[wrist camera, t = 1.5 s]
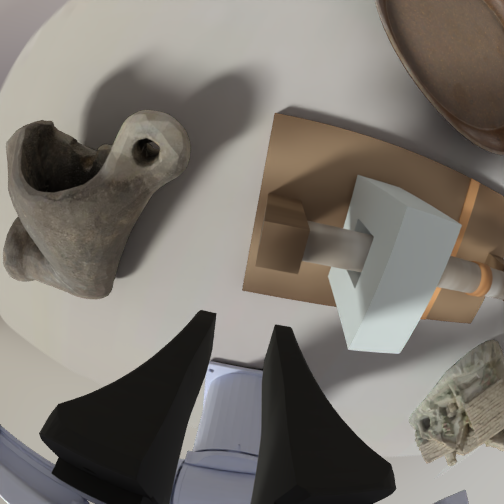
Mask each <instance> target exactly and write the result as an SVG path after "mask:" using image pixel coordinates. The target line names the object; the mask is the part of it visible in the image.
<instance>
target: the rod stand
mask: <svg viewBox="0 0 504 504" xmlns="http://www.w3.org/2000/svg"><path fill="white" fill-rule="evenodd" d="M357 175H360V176H364V177H367V178H371V179H374V180H377V181H381V182H384V183H387V184H390V185H393V186H397V187H400V188H402V189H403V190H405V191H407V192H409V193H411V194H412V195H414V196H416V197H418V198H419V199H421V200H423V201H424V202H426V203H428V204H430V205H431V206H433V207H434V208H436V209H438V210H439V211H441V212H443V213H444V214H446V215H447V216H449V217H450V218H452V219H454V220H455V221H457V222H458V223H460V224H461V225H462V226H461V229H460V232H459V235H458V237H457V240H456V243H455V245H454V248H453V250H452V253H451V255H450V258H449V260H448V263H447V265H446V267H445V270H444V272H443V274H442V276H441V279H440V281H439V283H438V285H437V287H436V289H435V291H434V293H433V295H432V297H431V299H430V301H429V303H428V305H427V307H426V309H425V311H424V313H423V315H422V316H421V318H420V319H424V320H425V319H430V320H439V321H449V322H459V323H470V324H471V322H472V320H473V319H474V317H475V315H476V313H477V312H478V310H479V308H480V306H481V304H482V302H483V300H484V299H485V297H491V298H496V299H501V300H503V301H504V259H503V258H504V196H502V195H501V194H499V193H497V192H495V191H494V190H492V189H490V188H488V187H487V186H485V185H483V184H481V183H479V182H477V181H476V180H474V179H472V178H470V177H468V176H466V175H464V174H462V173H460V172H457V171H455V170H453V169H451V168H449V167H447V166H445V165H442V164H440V163H438V162H436V161H433V160H431V159H429V158H426V157H424V156H422V155H419V154H417V153H414V152H412V151H409V150H406V149H404V148H401V147H398V146H396V145H393V144H390V143H387V142H384V141H381V140H378V139H375V138H372V137H369V136H366V135H363V134H360V133H356V132H353V131H350V130H346V129H342V128H339V127H335V126H331V125H328V124H324V123H320V122H315V121H311V120H307V119H302V118H298V117H293V116H288V115H283V114H278V113H275V115H274V120H273V125H272V131H271V136H270V142H269V147H268V152H267V158H266V163H265V168H264V174H263V179H262V185H261V190H260V196H259V201H258V206H257V212H256V217H255V223H254V228H253V234H252V239H251V245H250V250H249V256H248V261H247V267H246V272H245V278H244V283H243V289H242V290H243V291H248V292H253V293H259V294H264V295H269V296H275V297H281V298H286V299H292V300H298V301H304V302H309V303H315V304H322V305H328V306H334V307H337V306H336V302H335V299H334V295H333V292H332V288H331V285H330V282H329V278H328V275H329V272H330V269H331V267H336V268H341V269H346V270H351V271H356V272H362V269H363V267H364V264H365V261H366V258H367V256H368V253H369V250H370V247H371V244H372V241H373V238H374V236H373V235H369V234H365V233H361V232H356V231H352V230H348V229H343V227H344V224H345V220H346V217H347V213H348V209H349V206H350V202H351V198H352V195H353V191H354V187H355V183H356V179H357Z"/></svg>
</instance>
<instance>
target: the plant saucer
mask: <svg viewBox="0 0 504 504" xmlns="http://www.w3.org/2000/svg"><path fill="white" fill-rule="evenodd" d="M375 3H376V7H377V10H378V13H379V16H380V19H381V22H382V24H383V27H384V29H385V32H386V34H387V36H388V38H389V40H390V42H391V44H392V46H393V48H394V50H395V52H396V54H397V55H398V57H399V59H400V61H401V62H402V64H403V66H404V67H405V69H406V70H407V72H408V73H409V75H410V76H411V78H412V79H413V81H414V82H415V83H416V85H417V86H418V88H419V89H420V90H421V91H422V93H423V94H424V95H425V96H426V98H427V99H428V100H429V101H430V103H431V104H432V105H433V106H434V107H435V108H436V109H437V111H438V112H439V113H440V114H441V115H442V116H443V117H444V118H445V119H446V120H447V121H448V122H449V123H450V124H451V125H452V126H453V127H454V128H455V129H456V130H457V131H458V132H459V133H461V134H462V135H463V136H464V137H466V138H467V139H468V140H470V141H471V142H472V143H474V144H475V145H477V146H479V147H481V148H482V149H485V150H487V151H489V152H492V153H495V154H500V155H504V0H375Z"/></svg>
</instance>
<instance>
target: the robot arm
mask: <svg viewBox="0 0 504 504" xmlns="http://www.w3.org/2000/svg"><path fill="white" fill-rule="evenodd" d="M215 321H216V313H212V312H208V311H203V310H200V311H199V312H198V313H197V314H196V315H195V316H194V317H193V319H192V320H191V321H190V322H189V323H188V324H187V325H186V326H185V327H184V329H183V330H182V331H181V332H180V333H179V334H178V335H177V336H176V337H174V338H173V339H172V340H171V341H170V342H169V343H168V344H167V345H166V346H165V347H164V348H162V349H161V350H160V351H159V352H158V353H156V354H155V355H154V356H153V357H152V358H150V359H149V360H148V361H146V362H145V363H144V364H142V365H141V366H139V367H138V368H136V369H135V370H133V371H132V372H130V373H128V374H127V375H125V376H123V377H122V378H120V379H118V380H117V381H115V382H113V383H111V384H109V385H107V386H105V387H103V388H101V389H99V390H96V391H94V392H92V393H89V394H87V395H84V396H81V397H79V398H76V399H73V400H70V401H67V402H64V403H61V404H58V405H57V407H56V408H55V409H54V410H53V412H52V413H51V414H50V416H49V417H48V419H47V421H46V423H45V424H44V426H43V428H42V430H41V431H40V433H39V434H40V437H41V439H42V441H43V442H44V443H45V444H46V445H47V446H48V447H49V448H50V449H51V450H52V451H53V452H54V453H55V454H56V455H57V456H58V457H59V458H58V460H57V462H56V464H53V463H51V462H50V461H48V460H47V459H45V458H43V457H42V456H40V455H39V454H37V453H36V452H34V451H33V450H32V449H30V448H29V447H27V446H26V445H25V444H23V443H22V442H21V441H19V440H18V439H17V438H15V437H14V436H13V435H12V434H10V433H9V432H8V431H7V430H5V429H4V428H3V427H2V426H1V424H0V497H2V498H3V499H4V500H5V501H6V502H7V503H8V504H89V502H88V501H90V502H92V503H95V504H373V503H375V502H378V501H380V500H382V499H384V498H386V497H388V496H389V495H391V494H392V493H393V492H394V491H395V490H396V485H395V478H394V473H393V470H392V466H391V464H390V463H389V462H387V461H386V460H385V459H383V458H382V457H381V456H380V455H378V454H377V453H376V452H375V451H373V450H372V449H371V448H370V447H369V446H367V445H366V444H365V443H364V442H363V441H362V440H361V439H360V438H359V437H358V436H357V435H356V434H355V433H354V432H353V431H352V430H351V428H350V427H349V426H348V425H347V424H346V423H345V422H344V421H343V420H342V418H341V417H340V416H339V415H338V413H337V412H336V411H335V409H334V408H333V407H332V405H331V404H330V402H329V401H328V400H327V398H326V397H325V395H324V394H323V392H322V390H321V389H320V387H319V385H318V384H317V382H316V380H315V379H314V377H313V375H312V373H311V371H310V369H309V367H308V365H307V363H306V361H305V359H304V357H303V355H302V352H301V350H300V348H299V346H298V343H297V341H296V338H295V335H294V333H293V330H292V328H291V327H287V326H281V325H275V326H274V330H273V333H272V337H271V340H270V343H269V347H268V350H267V353H266V357H265V360H264V368H263V371H261V370H255V369H249V368H244V367H238V366H233V365H228V364H223V363H218V362H213V361H210V357H211V353H212V347H213V338H214V330H215ZM209 361H210V362H209ZM205 375H206V380H205V392H204V404H203V412H202V416H201V419H200V423H199V427H198V431H197V435H196V439H195V443H194V447H193V451H187V455H186V458H185V459H179V456H180V452H181V448H182V444H183V440H184V436H185V432H186V428H187V424H188V421H189V418H190V415H191V412H192V409H193V407H194V404H195V402H196V399H197V396H198V394H199V391H200V388H201V386H202V383H203V380H204V378H205ZM87 500H88V501H87ZM434 504H469V503H468V498H467V494H466V490H463V491H460V492H458V493H456V494H453V495H451V496H448V497H446V498H444V499H442V500H439V501H437V502H436V503H434Z"/></svg>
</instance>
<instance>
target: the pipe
mask: <svg viewBox="0 0 504 504" xmlns="http://www.w3.org/2000/svg"><path fill="white" fill-rule="evenodd" d="M150 142H155V143H156V144H157V145H158V146H159V148H160V150H159V149H156V148H153V147H152V146H151V145H150V144H149V143H150ZM190 151H191V146H190V140H189V138H188V135H187V133H186V131H185V129H184V128H183V126H182V125H181V124H180V123H179V122H178V121H177V120H175V119H174V118H173V117H172V116H170V115H168V114H166V113H163V112H159V111H153V110H141V111H139V112H137V113H134V114H133V115H131V116H129V117H128V118H127V119H126V120H125V121H124V123H123V125H122V127H121V129H120V131H119V133H118V135H117V137H116V139H115V141H114V144H113V146H111V145H107V144H104V145H102V146H100V147H99V148H98V150H97V151H95V150H93V149H91V148H88V147H86V146H84V145H82V144H80V143H78V142H77V140H76V139H74V138H73V137H71V136H70V135H67V134H65V133H63V132H61V131H59V130H58V129H57V128H56V127H55V126H54V124H53V122H52V121H44V120H41V121H36V122H33V123H30V124H28V125H25V126H23V127H22V128H20V129H18V130H17V131H16V132H15V133H14V134H13V136H12V137H11V138H10V139H9V140H8V141H7V143H6V152H7V161H8V191H9V194H10V197H11V200H12V203H13V206H14V208H15V210H16V212H17V214H18V216H19V217H17V218H16V219H15V221H14V223H13V224H12V226H11V228H10V230H9V232H8V234H7V237H6V241H5V245H4V250H3V264H4V267H5V269H6V271H7V273H8V274H9V275H10V276H11V277H12V278H14V279H16V280H18V281H33V280H36V281H39V282H42V283H44V284H47V285H50V286H53V287H55V288H58V289H60V290H63V291H65V292H68V293H70V294H72V295H75V296H77V297H81V298H86V299H101V298H104V297H106V296H108V295H109V293H110V292H111V290H112V288H113V282H114V279H115V276H116V272H117V268H118V264H119V261H120V258H121V255H122V253H123V250H124V248H125V245H126V242H127V240H128V237H129V235H130V233H131V230H132V228H133V226H134V225H135V223H136V221H137V219H138V218H139V216H140V214H141V213H142V211H143V209H144V208H145V206H146V204H147V203H148V201H149V199H150V198H151V196H152V195H153V193H154V192H155V191H156V190H158V189H159V188H160V187H162V186H163V185H164V184H166V183H168V182H170V181H171V180H173V179H175V178H177V177H178V176H180V175H181V174H182V173H183V171H184V170H185V169H186V168H187V165H188V162H189V159H190Z"/></svg>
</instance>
